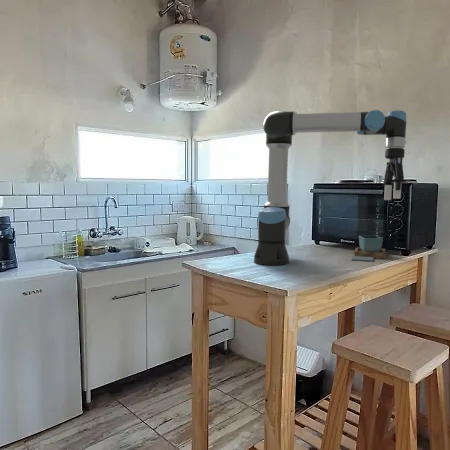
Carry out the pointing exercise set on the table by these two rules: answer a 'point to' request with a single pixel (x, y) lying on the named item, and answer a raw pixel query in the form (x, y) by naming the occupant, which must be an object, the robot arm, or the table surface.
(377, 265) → the table surface
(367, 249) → the flower pot
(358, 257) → the mat
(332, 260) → the table surface
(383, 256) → the wooden tray
